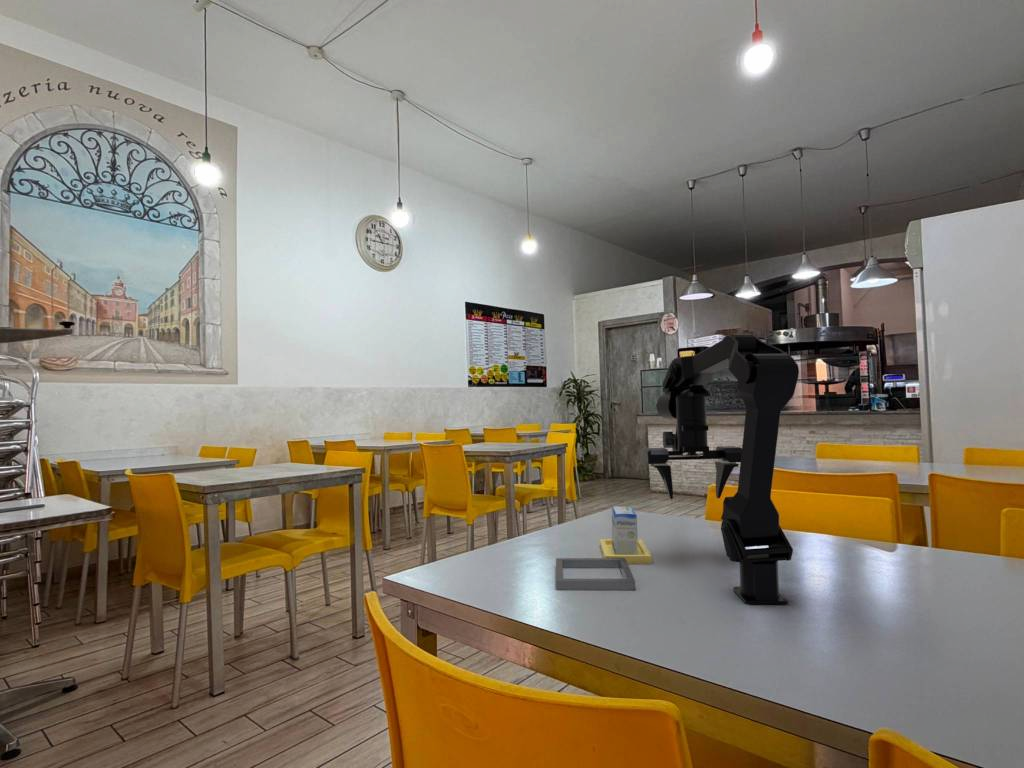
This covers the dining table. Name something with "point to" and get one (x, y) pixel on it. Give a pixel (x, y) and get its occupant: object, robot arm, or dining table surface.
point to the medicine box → (624, 531)
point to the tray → (641, 558)
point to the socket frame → (594, 584)
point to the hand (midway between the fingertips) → (694, 498)
